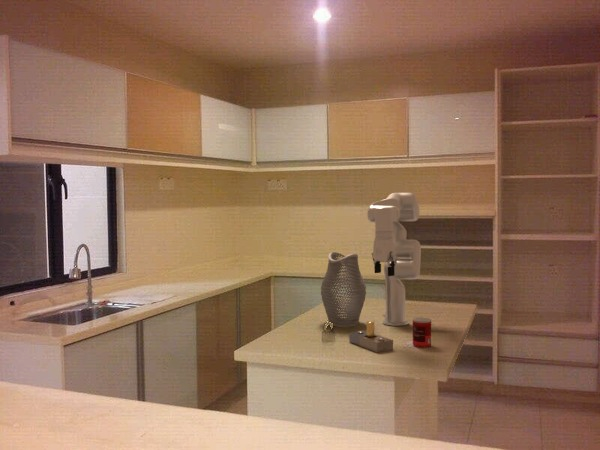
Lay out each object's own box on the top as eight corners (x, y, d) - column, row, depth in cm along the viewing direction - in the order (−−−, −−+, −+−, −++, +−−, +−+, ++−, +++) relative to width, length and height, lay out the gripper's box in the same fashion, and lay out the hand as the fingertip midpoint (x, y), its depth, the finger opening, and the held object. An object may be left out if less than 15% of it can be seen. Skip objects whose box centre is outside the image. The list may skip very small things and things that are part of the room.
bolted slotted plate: (349, 342, 249) (349, 331, 249) (364, 339, 253) (364, 329, 253) (376, 352, 232) (376, 341, 231) (393, 350, 235) (393, 338, 235)
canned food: (428, 342, 247) (428, 317, 246) (433, 347, 239) (433, 321, 238) (410, 343, 246) (410, 317, 246) (415, 348, 238) (415, 321, 238)
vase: (313, 325, 282) (312, 254, 281) (332, 317, 302) (331, 250, 300) (355, 330, 272) (355, 255, 270) (372, 321, 291) (372, 251, 290)
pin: (365, 345, 243) (365, 321, 243) (371, 344, 245) (371, 321, 244) (369, 347, 240) (369, 323, 240) (376, 346, 242) (375, 322, 241)
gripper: (365, 234, 258) (366, 272, 259) (388, 237, 243) (389, 277, 244) (379, 233, 262) (379, 270, 263) (403, 236, 246) (403, 276, 248)
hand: (384, 274), depth 254 cm, fingers open, 9 cm apart
